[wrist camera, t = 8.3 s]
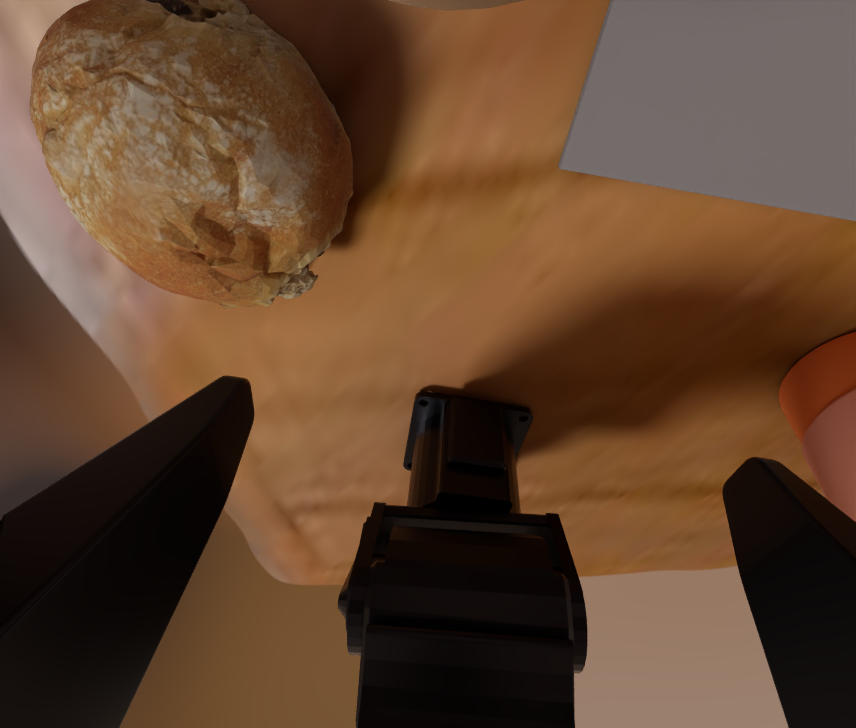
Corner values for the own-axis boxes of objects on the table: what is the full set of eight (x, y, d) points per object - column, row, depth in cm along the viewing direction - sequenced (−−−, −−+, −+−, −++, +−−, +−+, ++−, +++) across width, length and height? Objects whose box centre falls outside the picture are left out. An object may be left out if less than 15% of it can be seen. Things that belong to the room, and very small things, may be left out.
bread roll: (364, 44, 18) (289, -112, 10) (373, 303, 21) (318, 334, 13) (129, 53, 19) (-106, -85, 11) (165, 302, 21) (-7, 331, 14)
